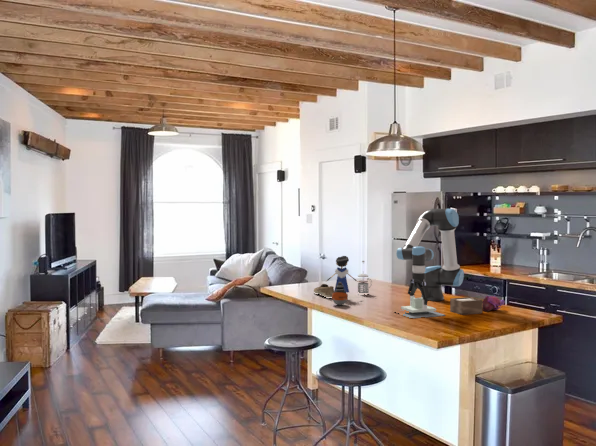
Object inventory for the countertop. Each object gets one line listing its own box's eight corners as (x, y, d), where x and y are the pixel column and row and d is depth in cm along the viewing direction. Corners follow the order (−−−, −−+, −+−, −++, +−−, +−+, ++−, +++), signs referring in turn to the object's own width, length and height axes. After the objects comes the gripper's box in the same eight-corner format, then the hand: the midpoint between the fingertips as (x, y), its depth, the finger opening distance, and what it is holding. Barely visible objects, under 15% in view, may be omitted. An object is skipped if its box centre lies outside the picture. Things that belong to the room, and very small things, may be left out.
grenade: (347, 307, 329) (347, 283, 328) (331, 306, 331) (331, 283, 331) (348, 304, 340) (348, 281, 339) (333, 303, 342) (333, 281, 341)
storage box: (450, 311, 314) (450, 298, 314) (470, 309, 320) (470, 297, 319) (461, 314, 304) (461, 301, 304) (482, 313, 309) (482, 300, 309)
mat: (392, 312, 312) (392, 311, 312) (425, 309, 321) (425, 308, 321) (410, 318, 293) (410, 317, 293) (445, 315, 302) (445, 314, 302)
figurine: (357, 297, 364) (357, 255, 364) (358, 299, 355) (358, 256, 355) (325, 297, 367) (325, 255, 366) (325, 299, 358) (325, 256, 357)
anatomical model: (485, 311, 312) (509, 307, 313) (481, 296, 315) (505, 292, 315) (478, 313, 324) (501, 309, 324) (475, 298, 326) (497, 294, 327)
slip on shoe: (311, 293, 387) (311, 281, 386) (326, 292, 389) (326, 280, 389) (322, 299, 358) (322, 286, 358) (337, 299, 360) (337, 286, 360)
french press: (360, 292, 386) (360, 259, 385) (374, 294, 379) (374, 260, 379) (354, 294, 378) (354, 260, 377) (368, 296, 371) (368, 261, 370)
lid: (400, 308, 310) (401, 297, 310) (424, 307, 316) (424, 295, 315) (412, 312, 298) (412, 300, 298) (436, 310, 304) (436, 299, 304)
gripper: (402, 270, 317) (402, 305, 317) (425, 275, 294) (424, 312, 294) (412, 269, 319) (412, 304, 320) (436, 274, 296) (436, 311, 297)
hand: (418, 308), depth 307 cm, fingers closed on lid, 12 cm apart
